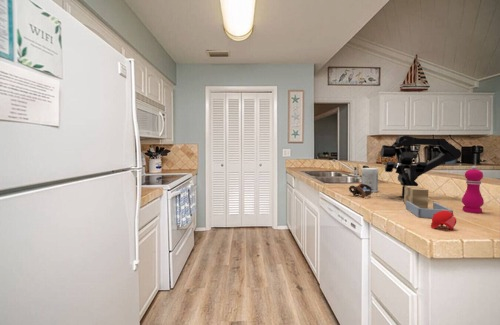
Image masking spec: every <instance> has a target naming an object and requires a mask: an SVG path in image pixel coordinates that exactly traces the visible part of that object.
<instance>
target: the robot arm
mask: <svg viewBox="0 0 500 325" xmlns="http://www.w3.org/2000/svg"><path fill="white" fill-rule="evenodd" d="M415 145H416V146H436V147H437V148H438V150H439V151H440V153H439V154H438V156H436V157H435V158H433V159H430V160H429V161H427V162H426V161H422V162H421V161H417V162H416V164H414V162H413V159H417V158H418V152H417V151H411V150H412V148H410V147H409V146H415ZM379 156H380V158H388V159H389V158H390V159H392V158H393V157H396V161H386V162H385V167H384V171H385V172H386V173H392V172H393V171H394V170H395V174H398V176H397V181H398V182H399V183H400V185H401V186H402V187H401V188H402V189H401V190H402V191H401V195H399V197H400V198H403V199H404V188H405V186H419V184H418V183H417V179H418V178H419V177H420V176H422V175H424V174H426V173H428V172H429V171H431V170H433V169H435V168H437V167H439V166H441V165H442V164H445V163H450V162H452V161H456V160H459V159H461V157H462V152H461V150H460V149H459V148H457V147H456V146H455V145H453V144H452V143H450V142H448V140H446V139H445V138H429V137H427V138H425V137H424V138H423V137H415V136H409V135H399V136H398V137H397V138H396V139H395V141H394V142H393V143H392V144H391V145H384V144H383V145H382V147H381V149H380V155H379Z"/></svg>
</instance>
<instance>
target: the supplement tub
mask: <svg viewBox="0 0 500 325" xmlns="http://www.w3.org/2000/svg"><path fill="white" fill-rule="evenodd" d="M361 184H366V185H368V186H370V187H371V189H372V191H371V192H372V193H377V192H378V191H379V169H378V168H376V167H362V168H361ZM362 189H363V192H365V191H370V190H369V189H366V187H365V186H364V188H362Z"/></svg>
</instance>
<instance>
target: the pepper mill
mask: <svg viewBox="0 0 500 325" xmlns="http://www.w3.org/2000/svg"><path fill="white" fill-rule="evenodd" d="M477 167H478V166H476V165H473V166H471V169H468V170H466V171H465V173H464V177H465V184H466V190H465V192H464V193H463V195H462V198H461V203H462V204H463V206H462V211H463V212H466V213H471V214H481V213H483V209H482V208H481V207H483V206H484V204H485V201H484V198H483V195H482V193H481V190H480V186H481V184H482V181H481V180H482V179H483V178H484V173H483V172H482V171H481V170H479V169H478V168H477Z"/></svg>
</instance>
